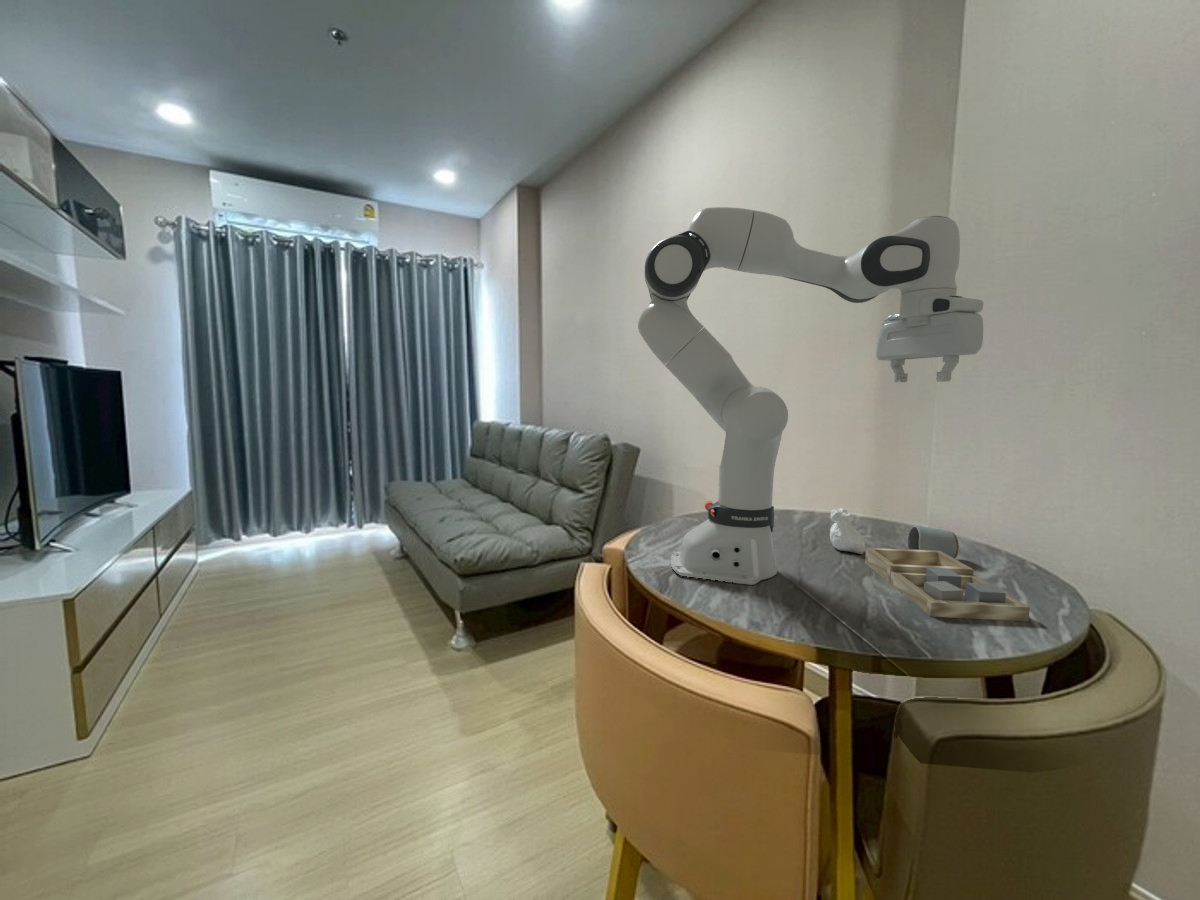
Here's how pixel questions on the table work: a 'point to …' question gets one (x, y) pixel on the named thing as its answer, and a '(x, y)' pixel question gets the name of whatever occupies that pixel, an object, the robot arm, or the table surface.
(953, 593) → the block
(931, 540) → the ceramic mug
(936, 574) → the stone mid
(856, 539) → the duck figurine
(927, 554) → the tray
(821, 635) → the table surface
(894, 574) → the tray
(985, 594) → the stone right
